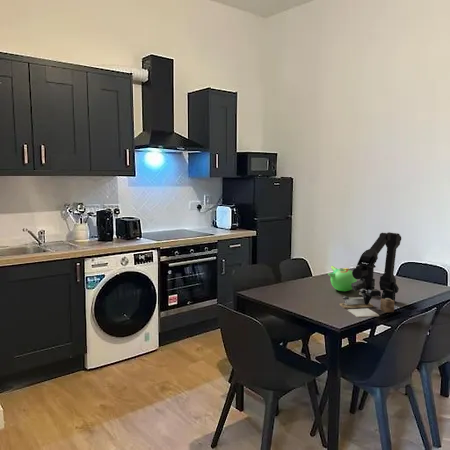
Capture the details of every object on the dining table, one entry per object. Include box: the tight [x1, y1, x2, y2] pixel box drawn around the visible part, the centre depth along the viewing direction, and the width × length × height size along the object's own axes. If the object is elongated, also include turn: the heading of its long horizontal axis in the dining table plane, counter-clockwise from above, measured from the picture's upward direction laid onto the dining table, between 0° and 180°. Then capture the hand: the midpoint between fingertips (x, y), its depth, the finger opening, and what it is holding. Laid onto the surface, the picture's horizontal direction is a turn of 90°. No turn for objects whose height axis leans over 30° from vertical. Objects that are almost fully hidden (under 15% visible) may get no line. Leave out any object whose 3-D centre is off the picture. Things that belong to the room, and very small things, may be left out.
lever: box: [342, 295, 371, 305], centre depth 239 cm, size 16×3×4 cm, turn 101°
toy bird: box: [327, 265, 358, 292], centre depth 270 cm, size 18×17×15 cm
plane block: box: [339, 302, 374, 309], centre depth 239 cm, size 17×6×1 cm, turn 101°
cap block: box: [380, 298, 396, 313], centre depth 232 cm, size 5×5×7 cm
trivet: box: [347, 307, 380, 318], centre depth 227 cm, size 12×11×1 cm
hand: (366, 304), depth 234 cm, fingers closed
